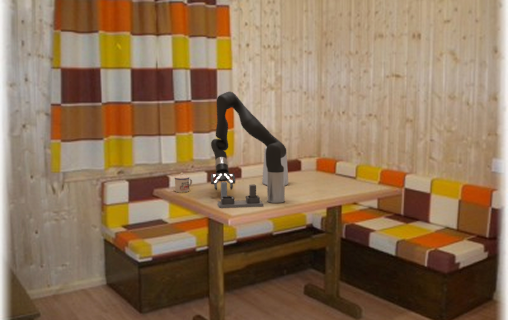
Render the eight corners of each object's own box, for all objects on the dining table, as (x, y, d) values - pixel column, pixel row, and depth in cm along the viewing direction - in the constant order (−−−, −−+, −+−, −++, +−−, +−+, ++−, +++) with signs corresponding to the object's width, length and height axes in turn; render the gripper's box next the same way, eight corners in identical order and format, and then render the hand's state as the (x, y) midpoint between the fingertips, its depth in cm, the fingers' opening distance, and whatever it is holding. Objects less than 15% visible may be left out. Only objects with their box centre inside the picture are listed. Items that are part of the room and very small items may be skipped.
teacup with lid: (180, 193, 327) (180, 174, 325) (171, 191, 334) (171, 172, 332) (196, 190, 335) (196, 172, 334) (187, 188, 342) (187, 170, 340)
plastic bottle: (290, 185, 351) (290, 143, 347) (269, 187, 346) (269, 144, 342) (280, 181, 365) (281, 140, 361) (260, 183, 360) (260, 141, 356)
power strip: (260, 202, 303) (260, 183, 301) (263, 206, 293) (263, 186, 291) (217, 203, 299) (217, 184, 297) (219, 208, 289) (219, 187, 288)
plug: (226, 197, 315) (226, 181, 313) (227, 199, 311) (226, 183, 310) (220, 198, 314) (220, 182, 313) (221, 199, 311) (221, 183, 309)
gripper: (210, 163, 317) (211, 185, 308) (234, 162, 319) (236, 185, 310) (209, 170, 323) (211, 193, 313) (233, 169, 325) (235, 192, 316)
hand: (223, 189), depth 312 cm, fingers open, 8 cm apart
